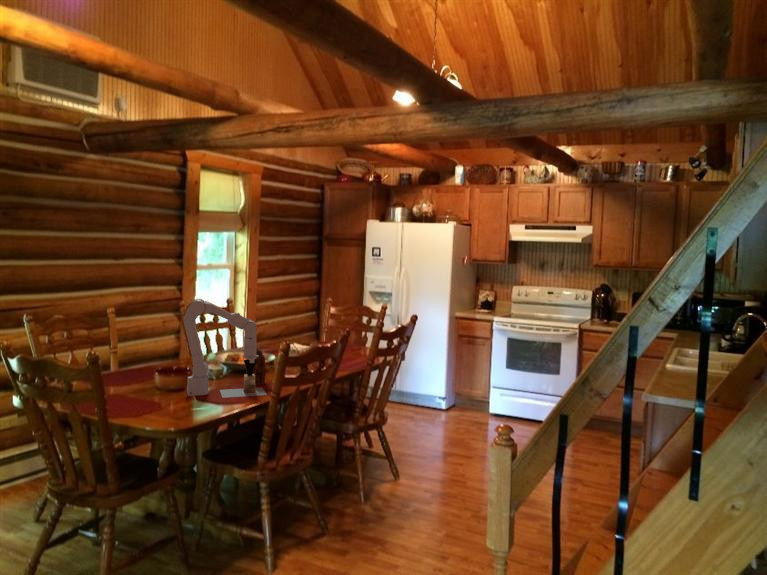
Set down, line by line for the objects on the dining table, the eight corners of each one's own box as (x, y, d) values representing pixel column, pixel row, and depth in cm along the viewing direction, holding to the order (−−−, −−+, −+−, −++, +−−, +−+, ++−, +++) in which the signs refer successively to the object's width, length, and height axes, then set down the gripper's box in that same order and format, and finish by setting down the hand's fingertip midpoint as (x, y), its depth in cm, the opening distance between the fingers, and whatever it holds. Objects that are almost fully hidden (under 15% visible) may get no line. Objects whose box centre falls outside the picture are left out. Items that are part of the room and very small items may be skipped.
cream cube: (245, 385, 288) (245, 376, 287) (243, 382, 292) (244, 374, 292) (255, 384, 289) (255, 376, 289) (253, 382, 293) (253, 373, 293)
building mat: (222, 399, 280) (222, 397, 280) (219, 391, 293) (219, 389, 293) (267, 396, 287) (267, 394, 287) (262, 389, 300) (262, 387, 300)
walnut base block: (244, 393, 288) (244, 385, 287) (243, 391, 292) (243, 382, 292) (255, 393, 290) (255, 384, 289) (254, 390, 294) (254, 382, 294)
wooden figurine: (241, 383, 310) (241, 347, 308) (249, 381, 315) (249, 346, 314) (259, 386, 304) (260, 350, 302) (268, 384, 310) (268, 348, 308)
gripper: (261, 349, 284) (260, 378, 285) (256, 343, 297) (256, 371, 298) (245, 349, 281) (245, 379, 282) (241, 343, 295) (241, 372, 296)
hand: (249, 375), depth 290 cm, fingers closed
